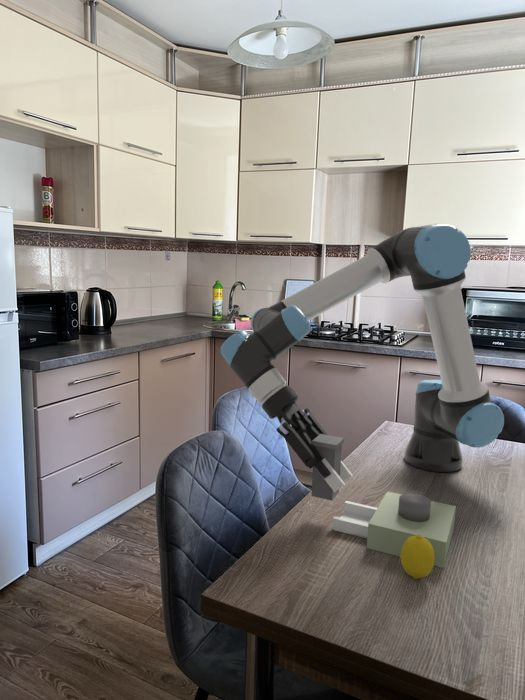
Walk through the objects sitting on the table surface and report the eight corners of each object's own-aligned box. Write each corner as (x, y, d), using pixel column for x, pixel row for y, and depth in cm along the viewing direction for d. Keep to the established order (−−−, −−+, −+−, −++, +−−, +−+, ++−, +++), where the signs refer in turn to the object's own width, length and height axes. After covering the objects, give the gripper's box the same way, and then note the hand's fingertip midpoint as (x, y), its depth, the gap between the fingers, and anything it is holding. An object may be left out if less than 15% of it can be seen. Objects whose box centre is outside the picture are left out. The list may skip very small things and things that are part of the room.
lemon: (434, 590, 87) (438, 545, 85) (399, 585, 88) (403, 541, 86) (430, 571, 92) (434, 529, 91) (398, 567, 93) (401, 525, 92)
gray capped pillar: (309, 495, 108) (312, 440, 106) (317, 487, 113) (320, 433, 111) (333, 501, 106) (336, 445, 104) (340, 492, 111) (344, 438, 109)
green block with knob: (326, 537, 103) (328, 499, 101) (349, 505, 117) (352, 471, 116) (443, 568, 93) (447, 526, 92) (453, 528, 107) (457, 492, 106)
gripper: (279, 396, 121) (343, 478, 117) (243, 414, 105) (316, 509, 101) (301, 376, 118) (368, 460, 114) (268, 392, 102) (344, 490, 98)
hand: (343, 483), depth 107 cm, fingers closed on gray capped pillar, 4 cm apart
